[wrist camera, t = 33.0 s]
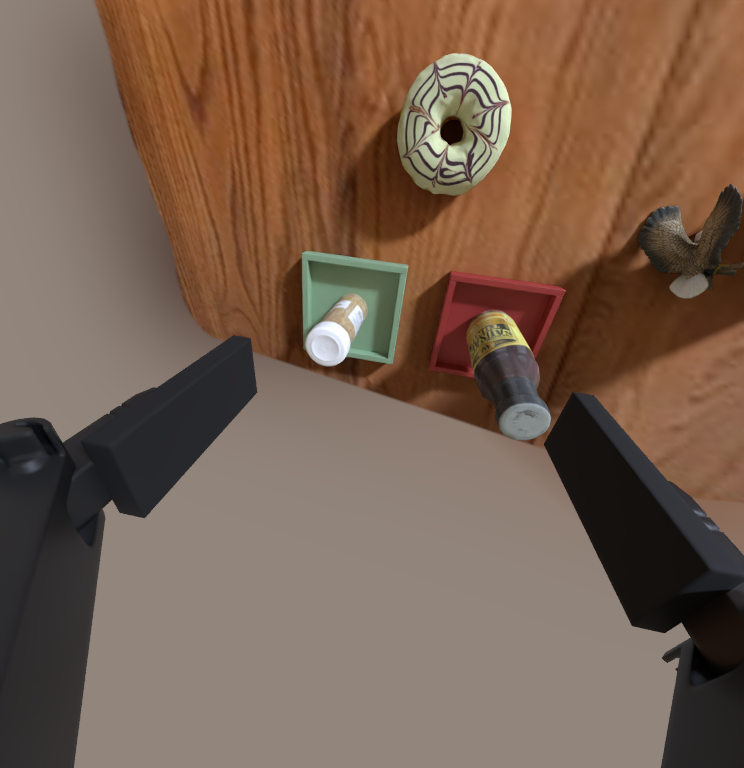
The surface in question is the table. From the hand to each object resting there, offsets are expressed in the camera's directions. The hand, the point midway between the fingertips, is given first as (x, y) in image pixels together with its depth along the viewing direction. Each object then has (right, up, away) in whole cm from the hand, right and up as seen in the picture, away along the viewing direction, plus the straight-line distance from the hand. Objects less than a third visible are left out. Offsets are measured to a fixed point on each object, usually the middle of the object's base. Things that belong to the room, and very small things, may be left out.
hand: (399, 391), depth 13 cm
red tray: (+15, +8, +29) cm, 33 cm away
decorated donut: (+7, +27, +19) cm, 34 cm away
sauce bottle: (+15, +8, +29) cm, 33 cm away
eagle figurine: (+33, +16, +21) cm, 42 cm away
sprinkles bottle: (-4, +11, +30) cm, 32 cm away
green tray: (-4, +11, +30) cm, 32 cm away
